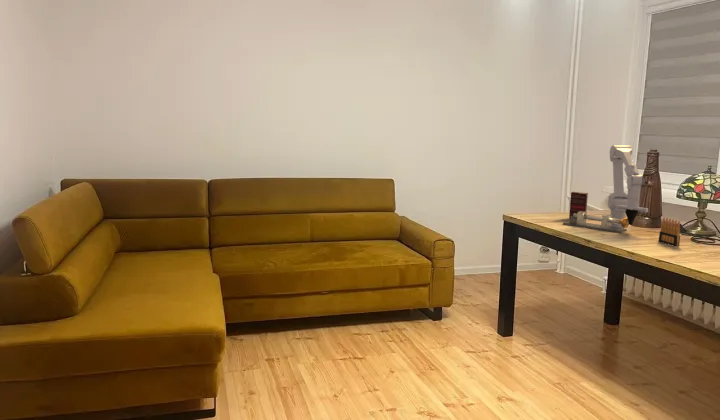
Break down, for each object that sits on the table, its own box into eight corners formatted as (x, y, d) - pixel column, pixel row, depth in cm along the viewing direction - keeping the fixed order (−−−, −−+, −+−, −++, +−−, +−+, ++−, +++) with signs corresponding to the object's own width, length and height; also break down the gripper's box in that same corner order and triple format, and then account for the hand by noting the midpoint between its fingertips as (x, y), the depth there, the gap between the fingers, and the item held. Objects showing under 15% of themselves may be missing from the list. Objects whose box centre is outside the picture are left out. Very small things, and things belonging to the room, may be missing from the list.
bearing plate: (570, 222, 309) (571, 209, 308) (626, 230, 289) (628, 216, 288) (562, 224, 302) (564, 210, 301) (619, 233, 282) (621, 218, 280)
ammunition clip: (679, 246, 254) (682, 221, 252) (676, 246, 254) (679, 221, 252) (661, 241, 264) (664, 216, 262) (658, 241, 264) (661, 217, 262)
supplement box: (585, 220, 318) (588, 192, 315) (584, 221, 314) (586, 193, 311) (570, 218, 322) (572, 191, 320) (568, 219, 318) (570, 192, 316)
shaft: (575, 219, 305) (576, 210, 304) (628, 227, 286) (629, 217, 285) (571, 220, 301) (572, 211, 300) (625, 228, 282) (626, 218, 281)
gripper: (615, 197, 282) (613, 223, 285) (645, 200, 272) (643, 227, 275) (620, 196, 287) (618, 221, 290) (650, 199, 277) (647, 225, 280)
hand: (630, 224), depth 282 cm, fingers closed
